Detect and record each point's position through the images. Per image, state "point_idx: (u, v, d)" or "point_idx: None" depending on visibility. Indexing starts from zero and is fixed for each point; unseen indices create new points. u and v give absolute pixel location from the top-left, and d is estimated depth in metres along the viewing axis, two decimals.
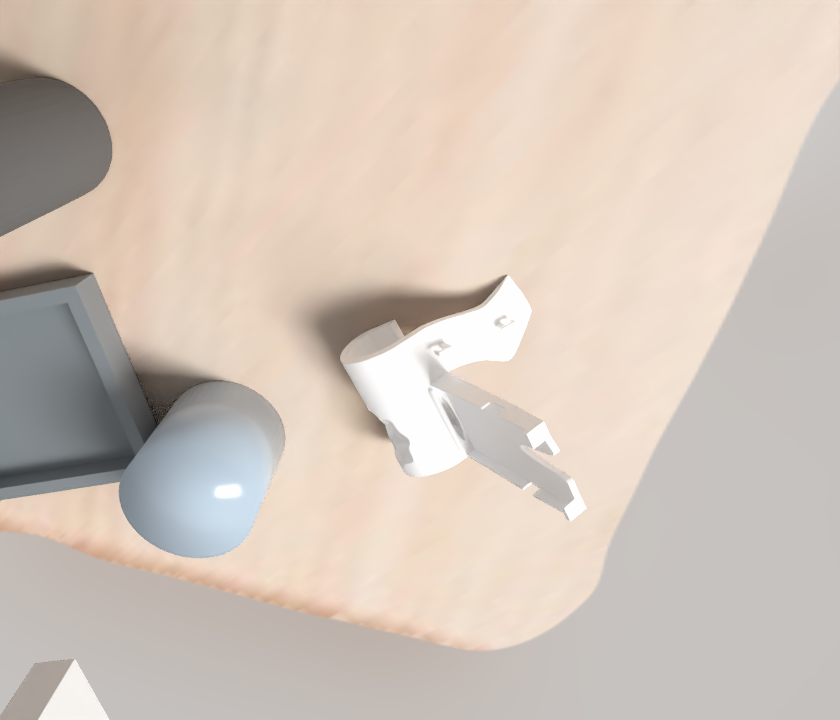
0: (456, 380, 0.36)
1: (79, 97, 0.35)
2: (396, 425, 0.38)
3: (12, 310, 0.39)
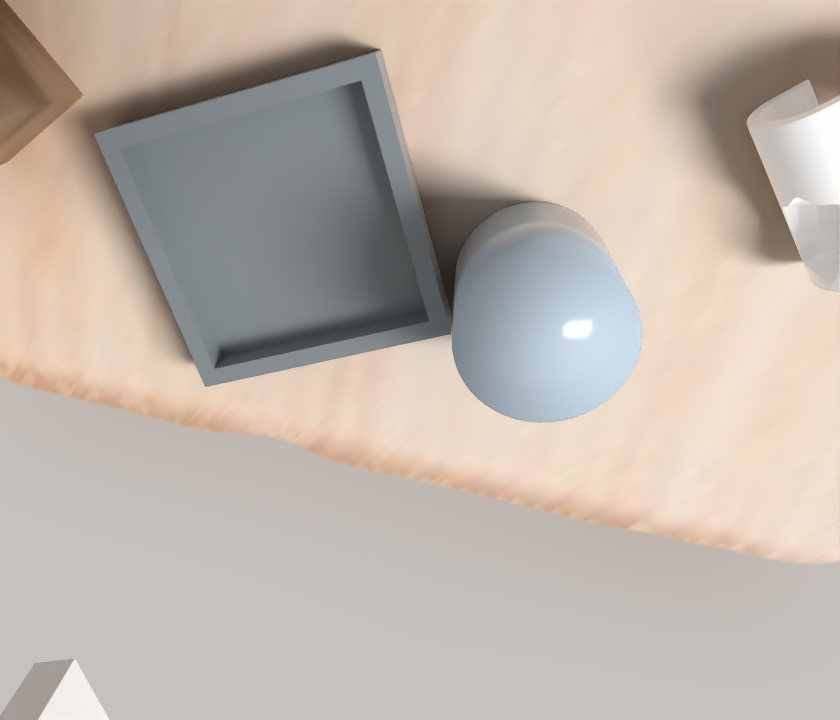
0: None
1: None
2: None
3: (284, 97, 0.29)
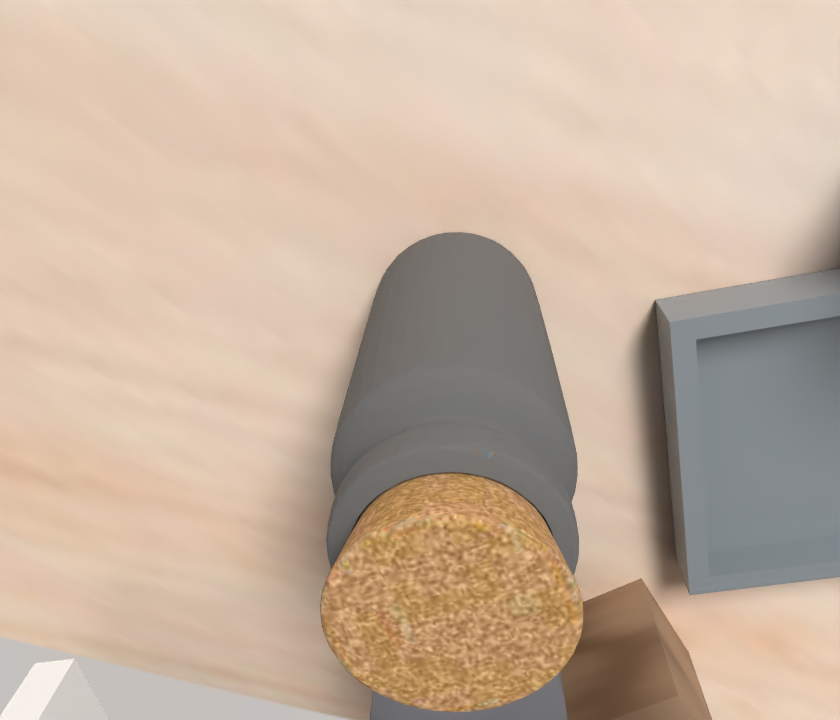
0: None
1: (396, 261, 0.25)
2: None
3: (696, 420, 0.26)
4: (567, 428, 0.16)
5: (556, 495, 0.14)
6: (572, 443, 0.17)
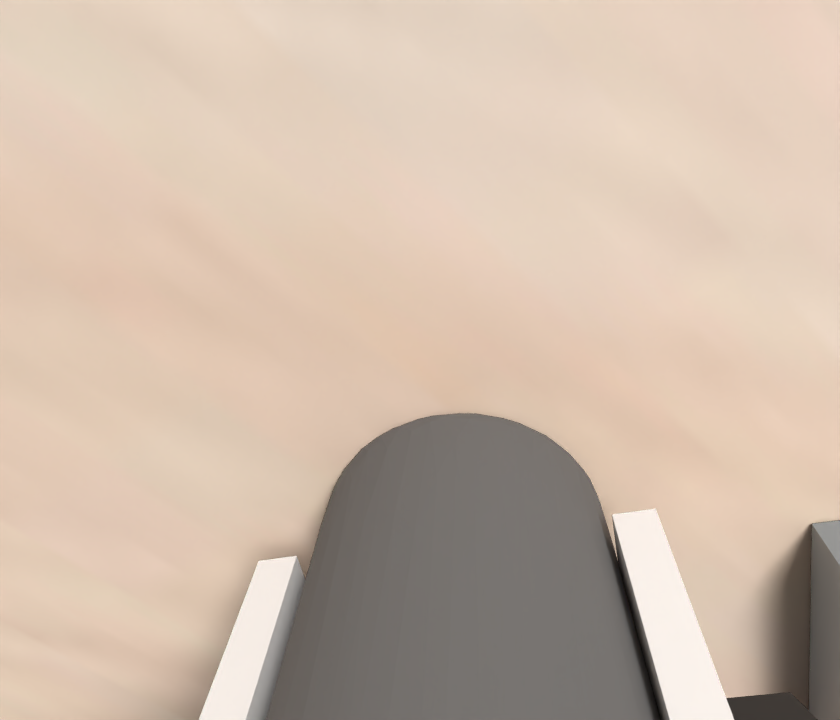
0: None
1: (356, 468, 0.14)
2: None
3: None
4: None
5: None
6: None
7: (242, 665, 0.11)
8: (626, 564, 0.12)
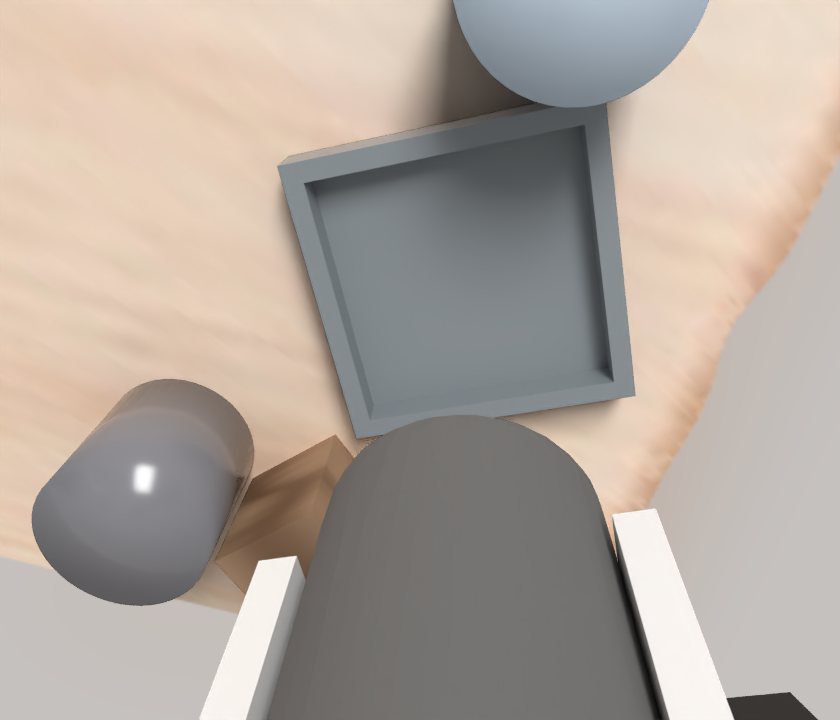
0: None
1: (357, 469, 0.14)
2: None
3: (321, 262, 0.29)
4: None
5: None
6: None
7: (242, 665, 0.11)
8: (626, 564, 0.12)
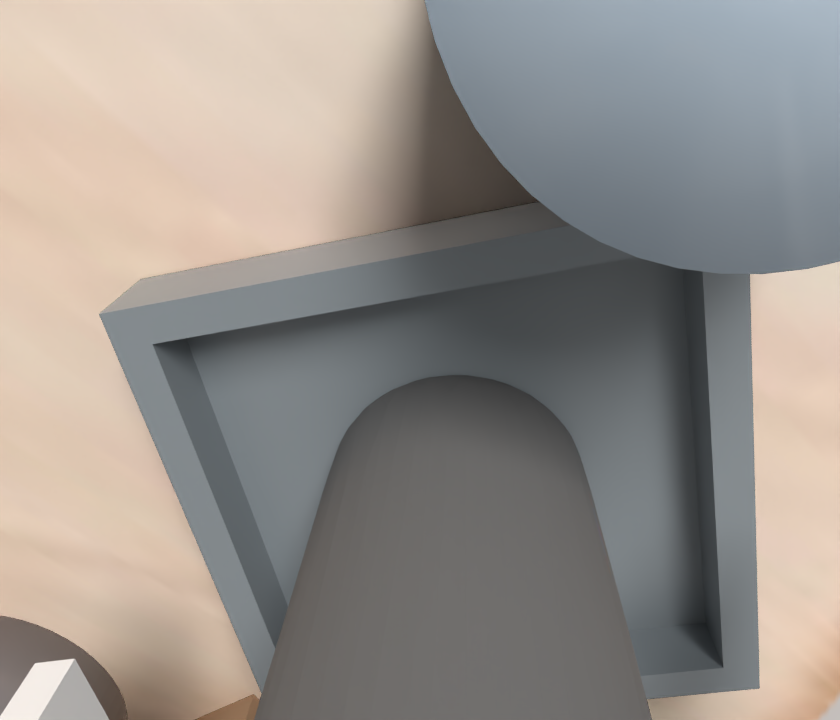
0: None
1: (360, 423, 0.15)
2: None
3: (198, 476, 0.16)
4: None
5: None
6: None
7: None
8: None
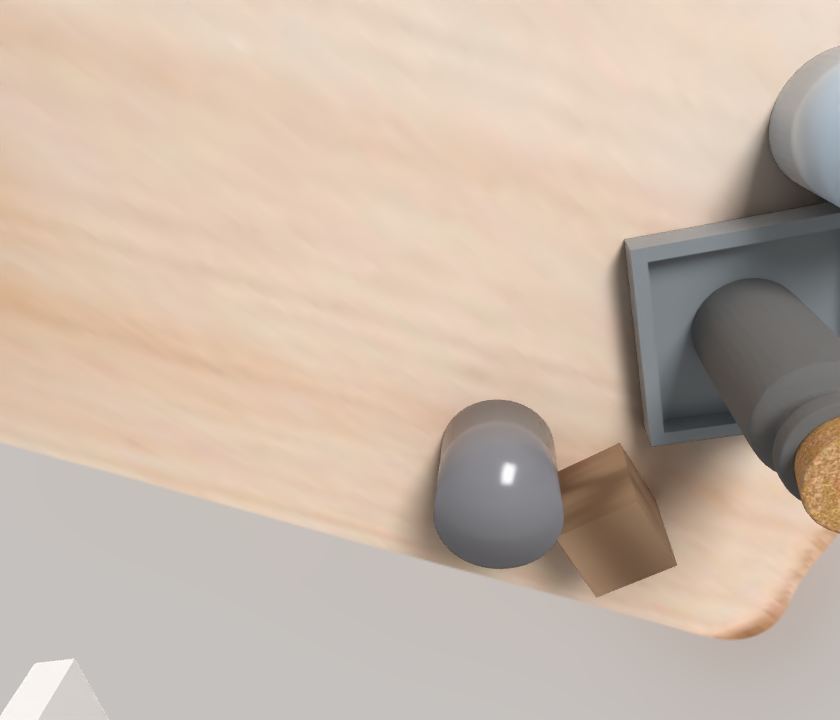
0: None
1: (716, 296, 0.39)
2: None
3: (650, 318, 0.39)
4: None
5: None
6: None
7: None
8: None
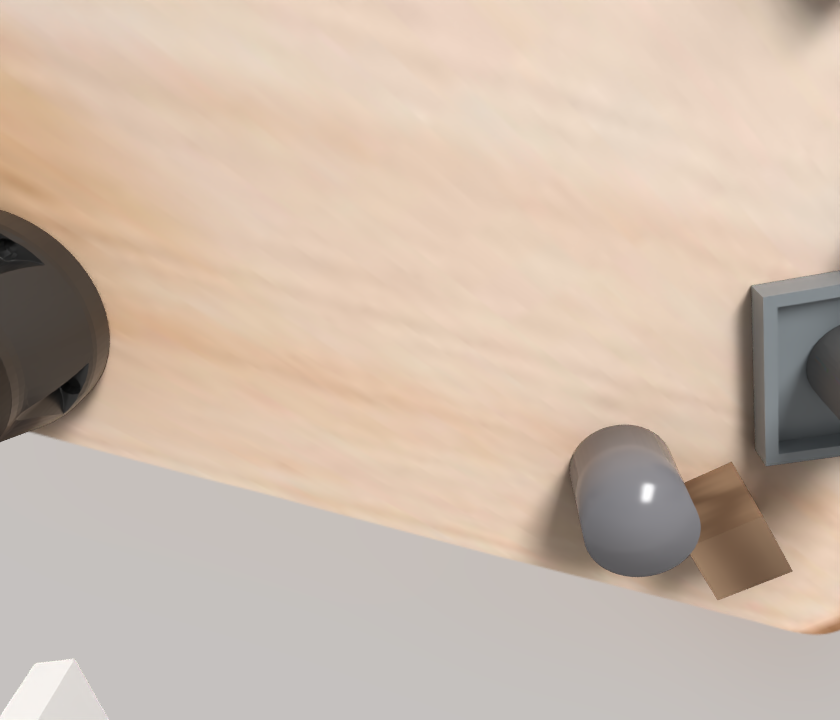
0: None
1: (833, 336, 0.44)
2: None
3: (775, 355, 0.44)
4: None
5: None
6: None
7: None
8: None
